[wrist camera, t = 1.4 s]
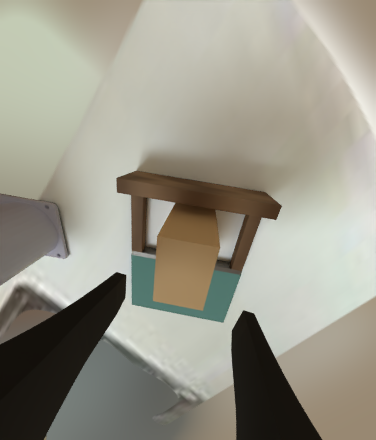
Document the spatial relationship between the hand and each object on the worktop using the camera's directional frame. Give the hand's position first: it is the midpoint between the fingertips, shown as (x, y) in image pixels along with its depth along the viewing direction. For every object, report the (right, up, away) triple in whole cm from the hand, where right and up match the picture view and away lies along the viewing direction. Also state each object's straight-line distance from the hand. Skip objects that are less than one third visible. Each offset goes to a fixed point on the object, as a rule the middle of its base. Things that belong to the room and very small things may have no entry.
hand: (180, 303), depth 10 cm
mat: (0, -5, +13) cm, 14 cm away
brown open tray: (+1, +4, +9) cm, 10 cm away
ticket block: (+1, +4, +9) cm, 10 cm away
